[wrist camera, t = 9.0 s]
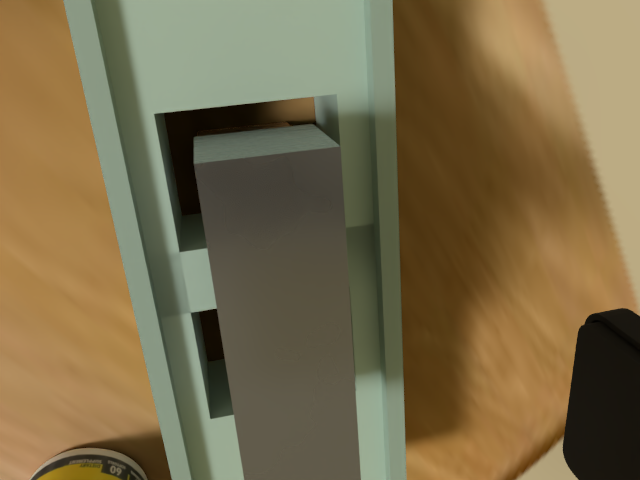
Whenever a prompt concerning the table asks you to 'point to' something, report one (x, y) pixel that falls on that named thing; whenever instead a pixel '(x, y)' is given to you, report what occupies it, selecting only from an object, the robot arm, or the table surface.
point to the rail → (188, 230)
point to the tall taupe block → (282, 296)
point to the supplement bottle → (89, 466)
